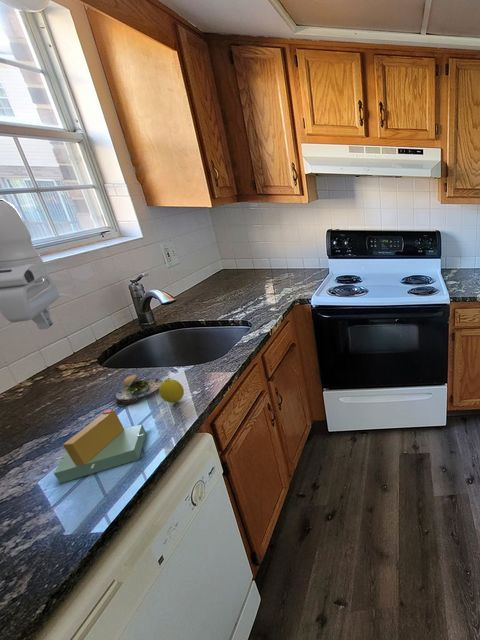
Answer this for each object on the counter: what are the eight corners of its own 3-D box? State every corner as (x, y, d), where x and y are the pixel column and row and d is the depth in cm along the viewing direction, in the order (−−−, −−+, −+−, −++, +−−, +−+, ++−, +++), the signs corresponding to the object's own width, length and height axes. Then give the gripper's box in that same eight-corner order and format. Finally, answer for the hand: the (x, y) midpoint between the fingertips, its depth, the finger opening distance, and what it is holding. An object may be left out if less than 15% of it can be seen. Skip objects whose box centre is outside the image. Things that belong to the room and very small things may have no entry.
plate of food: (136, 406, 106) (126, 385, 103) (106, 402, 108) (94, 380, 105) (174, 384, 116) (165, 364, 113) (145, 381, 119) (136, 361, 116)
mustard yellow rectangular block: (84, 464, 81) (71, 443, 78) (75, 465, 81) (61, 443, 78) (124, 429, 92) (114, 409, 89) (116, 430, 92) (105, 409, 89)
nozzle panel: (49, 493, 78) (41, 483, 76) (73, 448, 90) (67, 438, 89) (143, 464, 85) (137, 454, 83) (153, 426, 98) (148, 416, 96)
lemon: (180, 395, 111) (171, 372, 107) (191, 399, 108) (182, 376, 105) (160, 405, 106) (150, 382, 103) (171, 410, 104) (161, 386, 100)
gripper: (18, 264, 89) (44, 316, 95) (-25, 283, 73) (10, 345, 79) (53, 260, 92) (76, 312, 98) (19, 278, 76) (49, 338, 82)
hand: (46, 327), depth 88 cm, fingers closed
